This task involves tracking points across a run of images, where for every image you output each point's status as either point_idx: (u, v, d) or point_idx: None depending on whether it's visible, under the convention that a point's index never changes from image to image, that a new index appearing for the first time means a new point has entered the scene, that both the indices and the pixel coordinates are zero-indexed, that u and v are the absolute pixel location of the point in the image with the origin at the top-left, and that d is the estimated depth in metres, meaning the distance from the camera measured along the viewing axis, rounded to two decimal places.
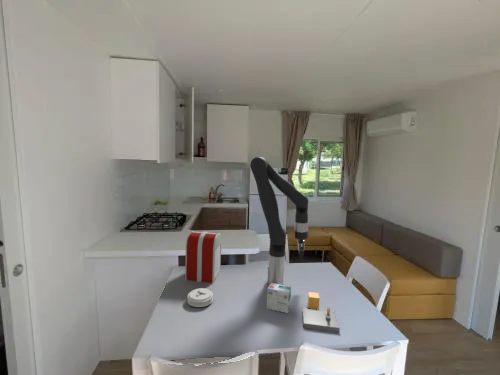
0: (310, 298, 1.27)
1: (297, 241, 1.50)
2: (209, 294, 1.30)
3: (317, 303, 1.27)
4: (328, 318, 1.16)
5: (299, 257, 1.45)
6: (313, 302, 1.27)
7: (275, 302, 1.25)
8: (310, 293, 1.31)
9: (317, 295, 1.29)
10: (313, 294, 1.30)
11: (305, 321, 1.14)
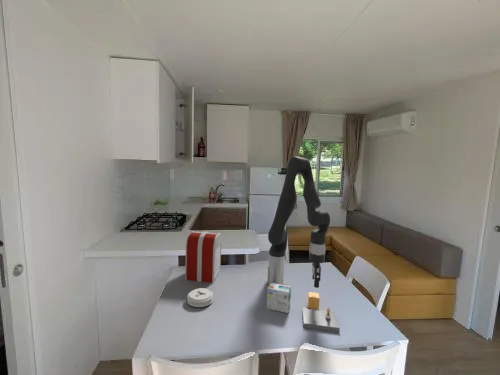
0: (310, 298, 1.27)
1: (312, 264, 1.30)
2: (209, 294, 1.30)
3: (317, 303, 1.27)
4: (328, 318, 1.16)
5: (314, 284, 1.24)
6: (313, 302, 1.27)
7: (275, 302, 1.25)
8: (310, 293, 1.31)
9: (317, 295, 1.29)
10: (313, 294, 1.30)
11: (305, 321, 1.14)
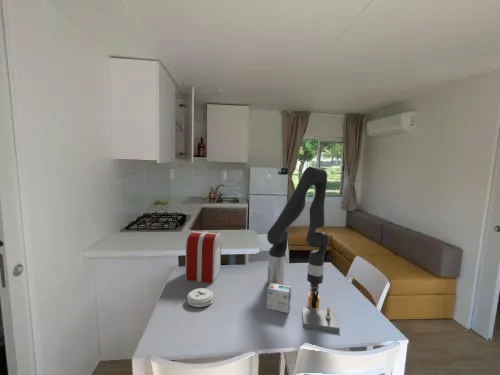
0: (310, 298, 1.27)
1: (310, 284, 1.31)
2: (209, 294, 1.30)
3: (317, 303, 1.27)
4: (328, 318, 1.16)
5: (312, 304, 1.27)
6: None
7: (275, 302, 1.25)
8: (310, 293, 1.31)
9: None
10: None
11: (305, 321, 1.14)
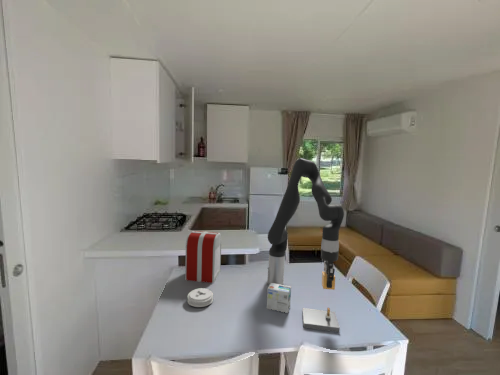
0: (325, 277, 1.17)
1: (324, 263, 1.20)
2: (209, 294, 1.30)
3: (333, 282, 1.16)
4: (328, 318, 1.16)
5: (327, 284, 1.16)
6: None
7: (275, 302, 1.25)
8: (324, 272, 1.20)
9: None
10: None
11: (305, 321, 1.14)
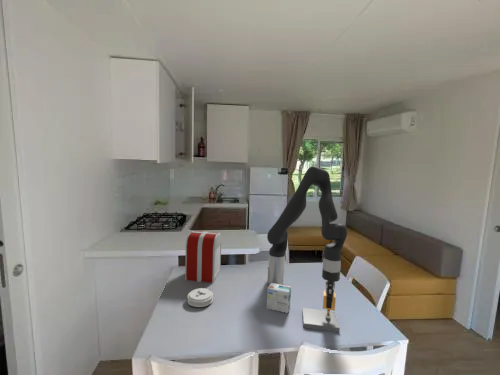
0: (325, 297, 1.14)
1: None
2: (209, 294, 1.30)
3: (333, 303, 1.13)
4: (328, 318, 1.16)
5: (326, 304, 1.14)
6: None
7: (275, 302, 1.25)
8: None
9: None
10: None
11: (305, 321, 1.14)
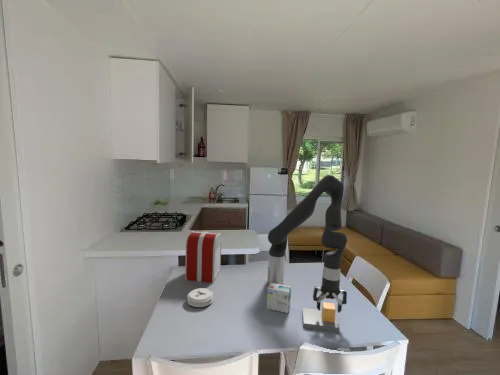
0: (322, 304, 1.19)
1: None
2: (209, 294, 1.30)
3: (323, 313, 1.16)
4: None
5: None
6: (322, 310, 1.18)
7: (275, 302, 1.25)
8: (331, 304, 1.18)
9: (329, 307, 1.15)
10: (330, 305, 1.17)
11: (305, 321, 1.14)
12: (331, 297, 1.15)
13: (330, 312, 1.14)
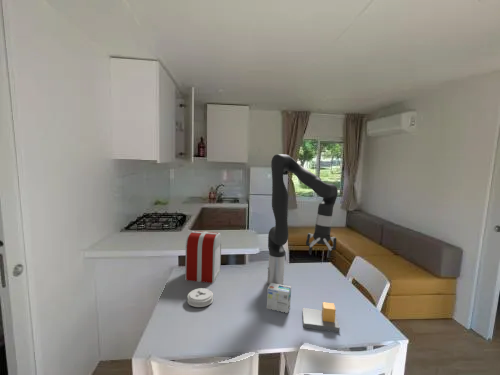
0: (322, 304, 1.19)
1: None
2: (209, 294, 1.30)
3: (323, 313, 1.16)
4: None
5: None
6: (322, 310, 1.18)
7: (275, 302, 1.25)
8: (331, 304, 1.18)
9: (329, 307, 1.15)
10: (330, 305, 1.17)
11: (305, 321, 1.14)
12: (322, 243, 1.28)
13: (330, 312, 1.14)
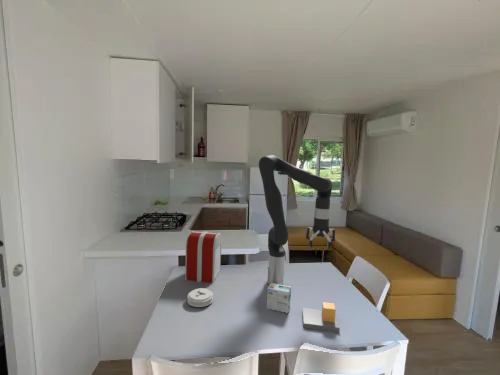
0: (322, 304, 1.19)
1: None
2: (209, 294, 1.30)
3: (323, 313, 1.16)
4: None
5: None
6: (322, 310, 1.18)
7: (275, 302, 1.25)
8: (331, 304, 1.18)
9: (329, 307, 1.15)
10: (330, 305, 1.17)
11: (305, 321, 1.14)
12: (321, 235, 1.32)
13: (330, 312, 1.14)
